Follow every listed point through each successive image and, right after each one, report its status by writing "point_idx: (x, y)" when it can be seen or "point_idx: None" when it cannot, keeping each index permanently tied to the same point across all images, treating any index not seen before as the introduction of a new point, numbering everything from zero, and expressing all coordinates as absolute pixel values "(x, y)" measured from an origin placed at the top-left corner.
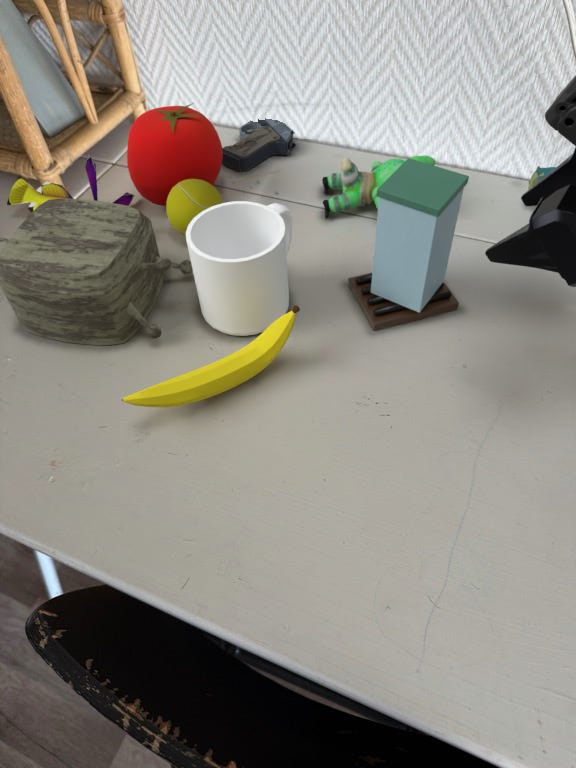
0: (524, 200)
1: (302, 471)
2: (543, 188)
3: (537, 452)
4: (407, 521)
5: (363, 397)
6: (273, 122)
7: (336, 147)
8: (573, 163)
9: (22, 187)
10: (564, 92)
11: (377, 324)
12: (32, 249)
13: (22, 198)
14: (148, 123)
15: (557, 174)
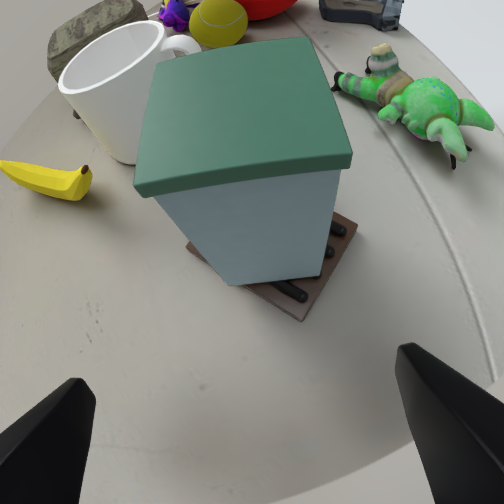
0: (399, 359)
1: (21, 304)
2: (431, 414)
3: (142, 498)
4: (26, 405)
5: (96, 304)
6: (390, 4)
7: (432, 53)
8: None
9: None
10: None
11: (188, 249)
12: (67, 27)
13: None
14: None
15: (474, 455)
